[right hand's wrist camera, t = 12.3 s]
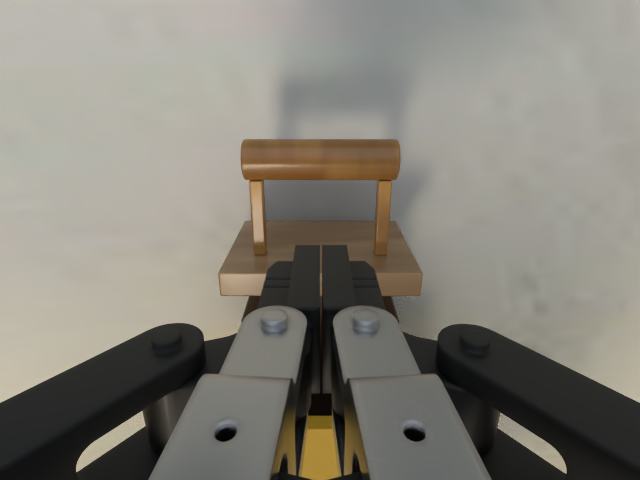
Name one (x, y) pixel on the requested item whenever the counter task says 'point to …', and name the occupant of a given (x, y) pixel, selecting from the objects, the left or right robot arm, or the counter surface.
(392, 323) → the right robot arm
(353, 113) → the counter surface
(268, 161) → the drawer
